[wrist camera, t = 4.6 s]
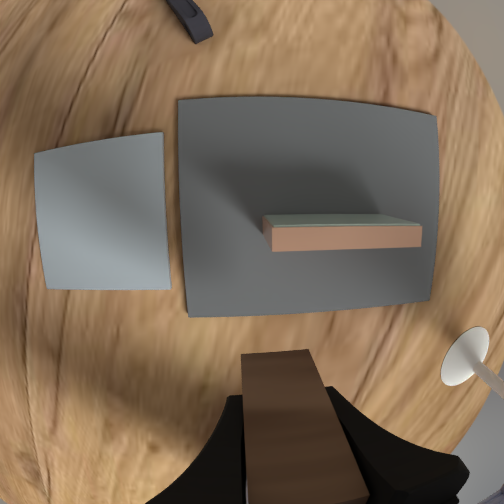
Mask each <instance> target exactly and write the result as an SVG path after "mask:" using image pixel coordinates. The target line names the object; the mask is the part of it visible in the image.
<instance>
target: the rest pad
mask: <svg viewBox="0 0 504 504" xmlns="http://www.w3.org/2000/svg"><path fill="white" fill-rule="evenodd" d="M34 180H35V202H36V215H37V226H38V235H39V243H40V251H41V258H42V264H43V270H44V276H45V282H46V287H47V289H71V290H169V289H171V288H172V284H171V274H170V263H169V251H168V237H167V222H166V203H165V178H164V133H163V132H157V133H148V134H139V135H131V136H124V137H117V138H110V139H104V140H97V141H92V142H86V143H80V144H75V145H70V146H65V147H60V148H55V149H51V150H46V151H42V152H38V153H34Z"/></svg>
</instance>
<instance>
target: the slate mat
mask: <svg viewBox="0 0 504 504" xmlns="http://www.w3.org/2000/svg"><path fill="white" fill-rule="evenodd" d="M178 160H179V194H180V216H181V234H182V250H183V263H184V276H185V287H186V298H187V308H188V317H234V316H260V315H280V314H296V313H311V312H325V311H337V310H349V309H359V308H370V307H379V306H388V305H397V304H405V303H414V302H421V301H429V300H430V294H431V287H432V280H433V272H434V264H435V255H436V244H437V231H438V214H439V147H438V130H437V118H436V116H433V115H429V114H424V113H419V112H414V111H409V110H404V109H398V108H392V107H386V106H379V105H372V104H365V103H356V102H348V101H338V100H326V99H313V98H295V97H219V98H201V99H187V100H178ZM282 214H383V215H387V216H391V217H395V218H399V219H403V220H407V221H410V222H414V223H418V224H420V226H422V240H421V247H402V248H372V249H341V250H311V251H281V252H272V250H271V249H270V247H269V245H268V243H267V241H266V239H265V238H264V236H263V222H262V216H264V215H282Z"/></svg>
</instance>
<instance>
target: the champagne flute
mask: <svg viewBox="0 0 504 504" xmlns="http://www.w3.org/2000/svg"><path fill="white" fill-rule="evenodd" d="M488 346H489V335H488V332H487V331H486V329H484V328H483V327H474V328H471V329H469V330H468V331H466V332H465V333H463V334H462V335H461V336H460V337H459V338H458V339H457V340H456V341H455V342H454V344H453V345H452V346H451V348H450V349H449V351H448V353H447V354H446V356H445V359H444V361H443V364H442V368H441V379H442V381H443V382H444V383H445V384H446V385H449V386H453V385H458V384H460V383H462V382H464V381H465V380H467V379H468V378H469V377H471V376H472V375H473V374H474V373H476V374H477V375H478V376H479V377H480V378H481V379H482V380H483V381H484V382H485V383H487V384H488V385H489V386H490V387H491V388H492V389H493V390H494V391H495V392H496V393H498V394H499V395H500V396H501V397H502V398H503V399H504V381H503V380H502V379H501V378H500V377H499V376H497V375H496V374H495V373H494V372H493V371H491V370H490V369H489V368H488V367H487V366H485V365H484V364H483V363H482V362H483V360H484V358H485V356H486V353H487V350H488Z"/></svg>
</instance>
